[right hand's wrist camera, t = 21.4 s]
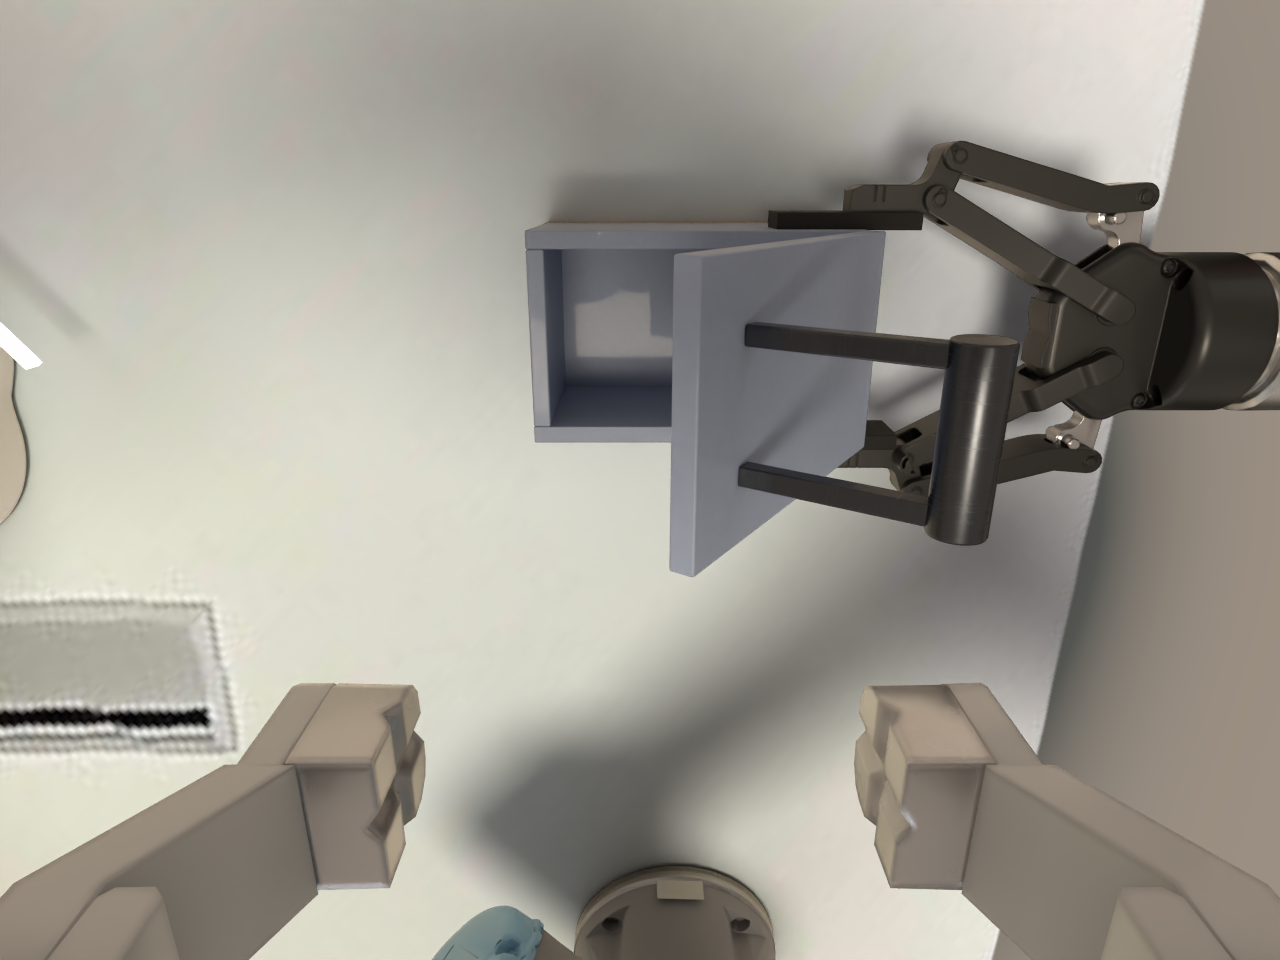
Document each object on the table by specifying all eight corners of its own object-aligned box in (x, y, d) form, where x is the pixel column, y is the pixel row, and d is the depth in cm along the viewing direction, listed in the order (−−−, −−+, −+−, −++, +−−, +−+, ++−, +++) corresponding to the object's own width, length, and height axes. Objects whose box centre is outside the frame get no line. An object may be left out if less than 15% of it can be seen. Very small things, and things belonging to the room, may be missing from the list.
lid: (668, 571, 25) (950, 654, 20) (672, 253, 22) (1010, 270, 17) (845, 444, 37) (1044, 478, 33) (865, 230, 34) (1089, 236, 30)
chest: (553, 396, 46) (534, 442, 38) (547, 222, 43) (524, 230, 34) (812, 395, 46) (852, 442, 38) (825, 222, 43) (872, 230, 34)
